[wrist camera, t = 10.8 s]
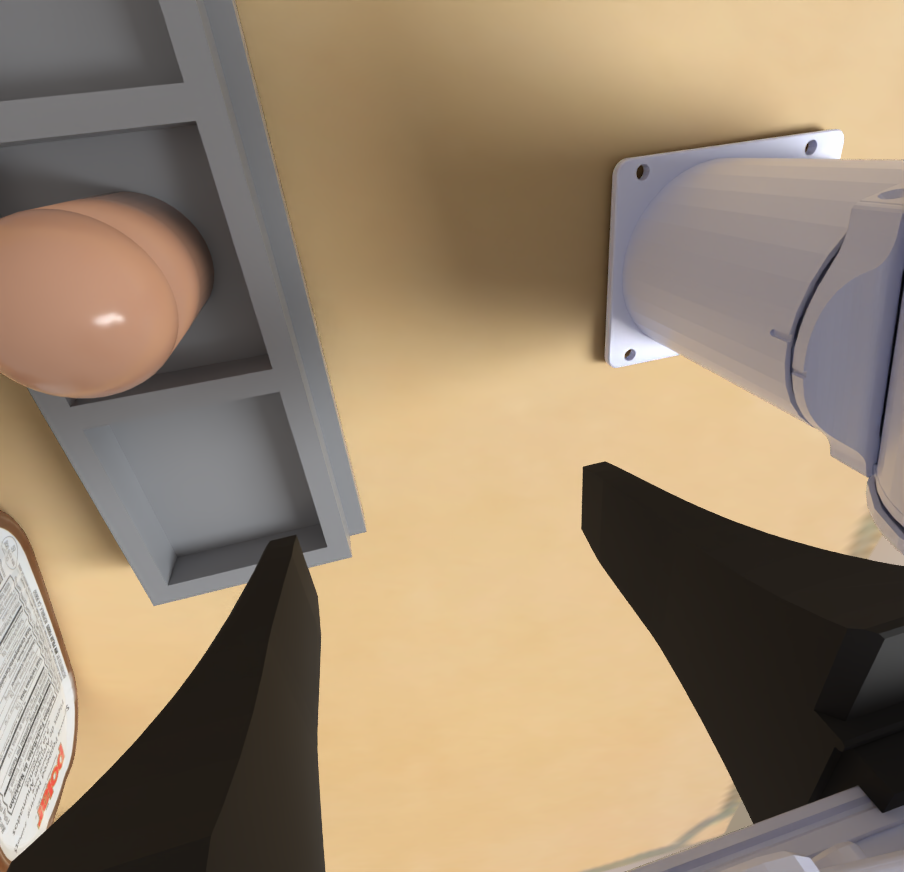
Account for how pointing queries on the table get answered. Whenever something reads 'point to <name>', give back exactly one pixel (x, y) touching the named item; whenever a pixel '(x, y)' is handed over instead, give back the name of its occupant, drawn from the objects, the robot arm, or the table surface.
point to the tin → (30, 699)
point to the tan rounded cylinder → (97, 292)
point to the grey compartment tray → (222, 318)
